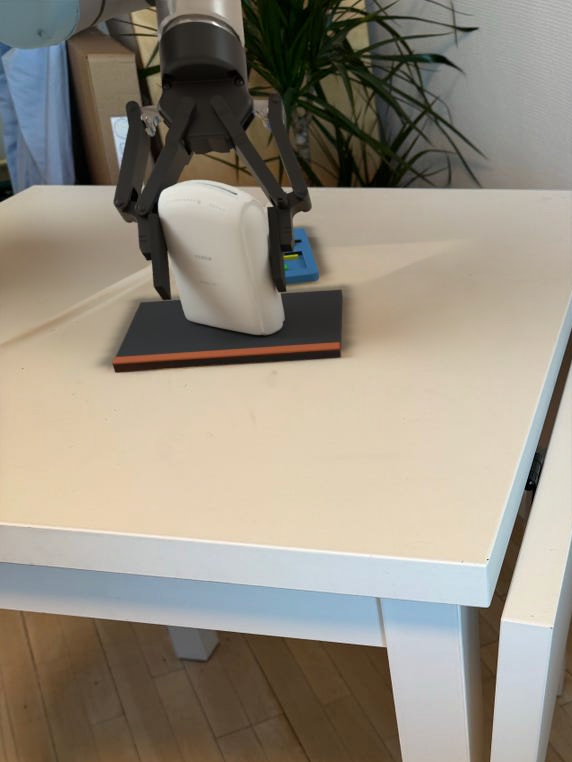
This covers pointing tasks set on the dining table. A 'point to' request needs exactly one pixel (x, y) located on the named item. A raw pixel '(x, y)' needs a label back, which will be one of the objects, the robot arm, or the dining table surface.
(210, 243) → the photo printer
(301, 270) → the handheld gaming device
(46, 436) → the dining table surface
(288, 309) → the mat
